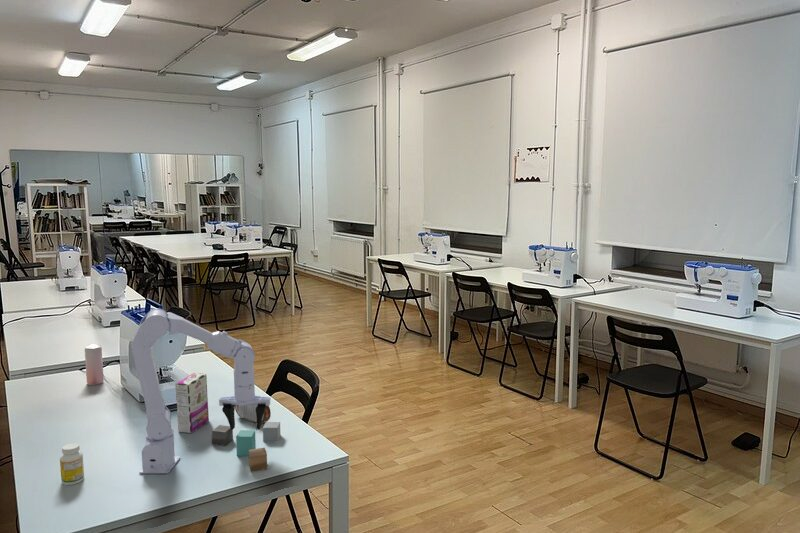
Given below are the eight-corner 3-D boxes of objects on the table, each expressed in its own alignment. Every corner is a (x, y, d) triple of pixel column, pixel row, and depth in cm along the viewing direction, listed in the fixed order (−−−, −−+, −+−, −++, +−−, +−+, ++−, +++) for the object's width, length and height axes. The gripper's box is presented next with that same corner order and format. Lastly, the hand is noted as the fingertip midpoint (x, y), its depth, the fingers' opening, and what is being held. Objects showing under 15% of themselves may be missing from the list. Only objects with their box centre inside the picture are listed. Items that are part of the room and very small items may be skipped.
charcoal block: (225, 446, 179) (224, 432, 179) (212, 444, 181) (211, 430, 180) (233, 440, 184) (232, 426, 183) (220, 438, 185) (219, 424, 184)
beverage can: (87, 381, 236) (84, 345, 234) (104, 379, 239) (101, 343, 237) (86, 386, 231) (84, 349, 229) (103, 384, 234) (101, 347, 232)
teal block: (252, 456, 173) (251, 436, 172) (236, 456, 173) (236, 436, 172) (255, 449, 178) (255, 430, 177) (240, 449, 178) (240, 430, 177)
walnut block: (267, 469, 165) (266, 454, 165) (250, 472, 164) (250, 456, 163) (265, 462, 169) (264, 447, 169) (248, 464, 168) (248, 449, 167)
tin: (271, 424, 196) (271, 399, 195) (264, 427, 194) (264, 402, 193) (240, 414, 204) (239, 390, 203) (233, 417, 202) (232, 393, 201)
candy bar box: (195, 419, 200) (193, 372, 198) (209, 420, 199) (207, 373, 197) (177, 432, 189) (174, 383, 187) (191, 433, 188) (189, 384, 186)
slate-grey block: (277, 441, 183) (277, 427, 182) (263, 441, 183) (262, 427, 182) (280, 435, 188) (280, 422, 187) (266, 435, 187) (265, 421, 187)
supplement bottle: (80, 484, 156) (78, 450, 155) (58, 486, 155) (55, 451, 154) (87, 474, 161) (84, 441, 160) (65, 476, 160) (63, 442, 159)
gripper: (215, 388, 168) (217, 433, 170) (266, 388, 169) (267, 433, 170) (222, 380, 175) (224, 424, 177) (271, 380, 176) (272, 424, 177)
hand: (245, 428), depth 174 cm, fingers open, 7 cm apart
